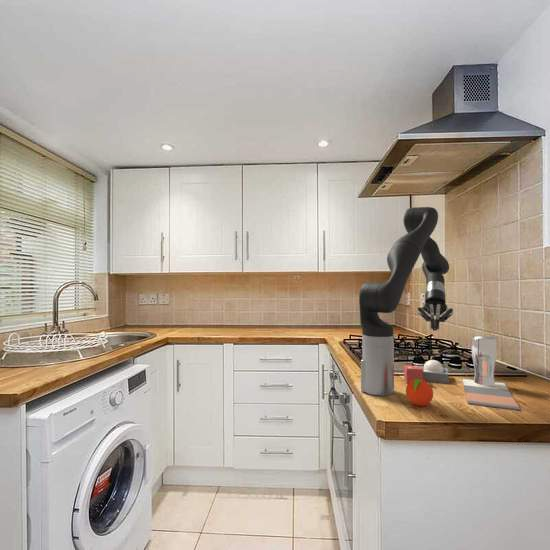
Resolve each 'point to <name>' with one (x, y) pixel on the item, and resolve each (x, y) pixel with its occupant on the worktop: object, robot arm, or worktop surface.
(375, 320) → the robot arm
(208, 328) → the worktop surface
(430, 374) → the dome base
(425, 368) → the dome cap
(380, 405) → the worktop surface
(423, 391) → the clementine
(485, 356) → the beer glass
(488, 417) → the worktop surface
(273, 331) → the worktop surface
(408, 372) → the die
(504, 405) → the game board
